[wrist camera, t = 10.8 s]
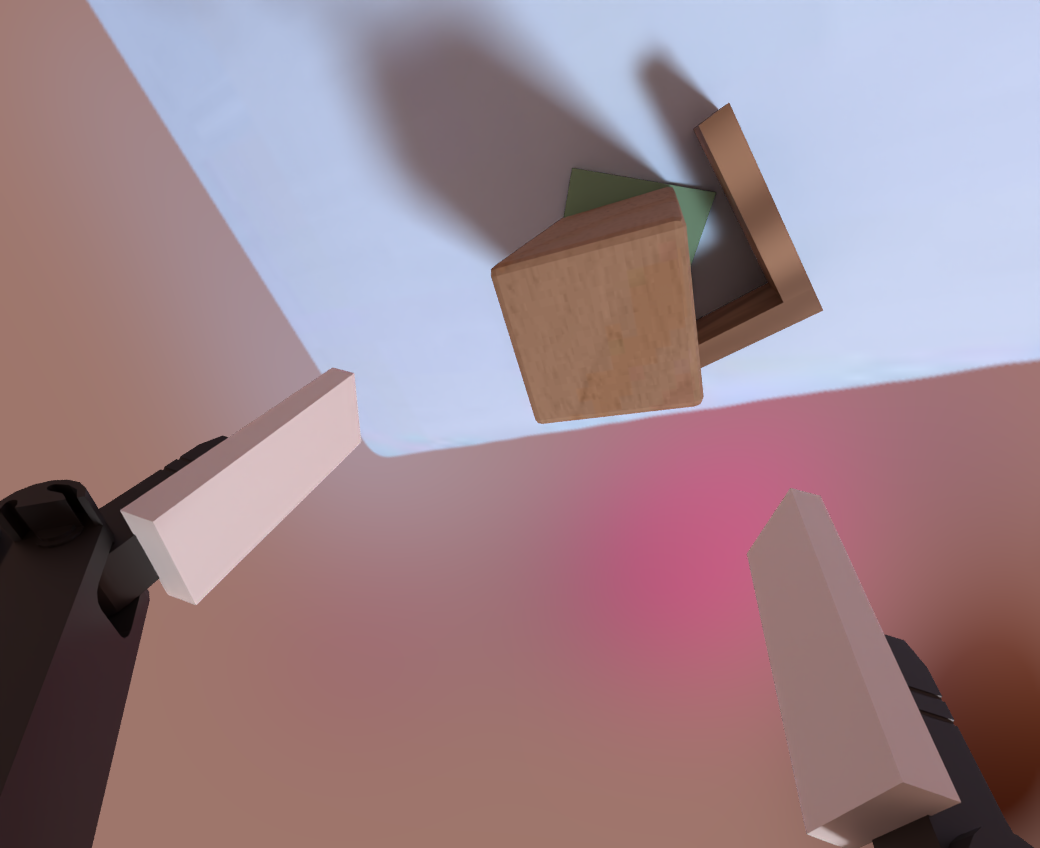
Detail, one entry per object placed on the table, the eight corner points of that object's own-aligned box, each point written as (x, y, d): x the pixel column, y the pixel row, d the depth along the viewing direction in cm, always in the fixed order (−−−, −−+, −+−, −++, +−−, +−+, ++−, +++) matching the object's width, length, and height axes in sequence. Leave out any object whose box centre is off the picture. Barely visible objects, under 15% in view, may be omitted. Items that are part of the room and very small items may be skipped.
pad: (549, 303, 44) (548, 304, 43) (572, 168, 37) (572, 168, 37) (668, 329, 42) (668, 331, 42) (715, 192, 35) (716, 192, 35)
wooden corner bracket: (516, 264, 43) (498, 279, 38) (718, 109, 32) (729, 102, 28) (602, 390, 47) (595, 417, 42) (801, 289, 37) (823, 310, 32)
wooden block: (674, 184, 35) (685, 214, 19) (686, 302, 40) (705, 408, 24) (557, 218, 39) (485, 269, 23) (581, 323, 44) (534, 427, 27)
